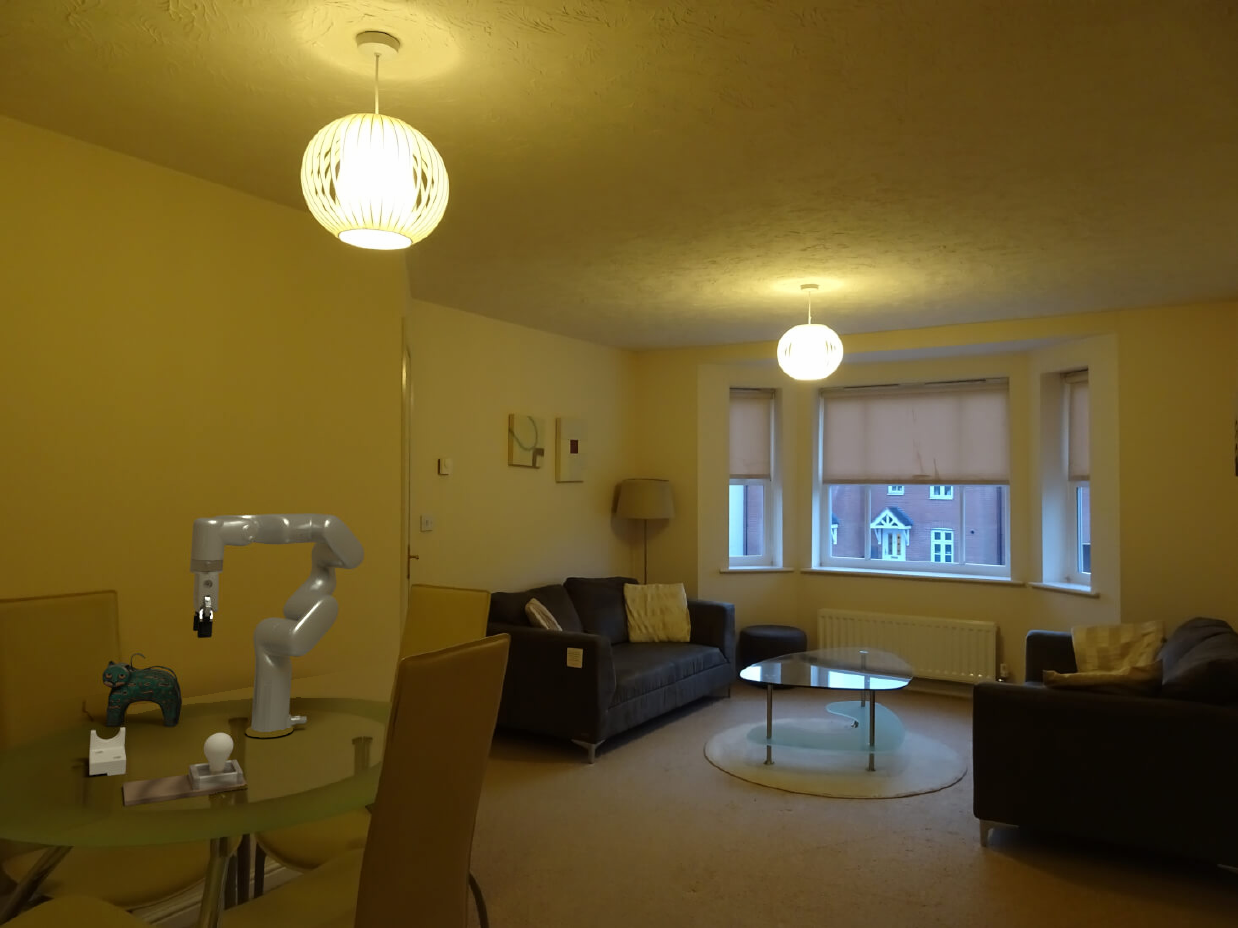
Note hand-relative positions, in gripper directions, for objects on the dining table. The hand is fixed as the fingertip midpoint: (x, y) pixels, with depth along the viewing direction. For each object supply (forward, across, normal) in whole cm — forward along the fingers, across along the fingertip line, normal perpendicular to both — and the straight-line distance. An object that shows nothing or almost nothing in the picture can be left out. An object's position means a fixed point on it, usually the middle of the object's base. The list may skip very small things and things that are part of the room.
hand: (202, 633), depth 211 cm
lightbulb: (+30, -25, -2) cm, 39 cm away
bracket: (+31, -2, +19) cm, 36 cm away
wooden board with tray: (+30, -24, +4) cm, 39 cm away
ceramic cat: (+31, +32, +10) cm, 45 cm away
